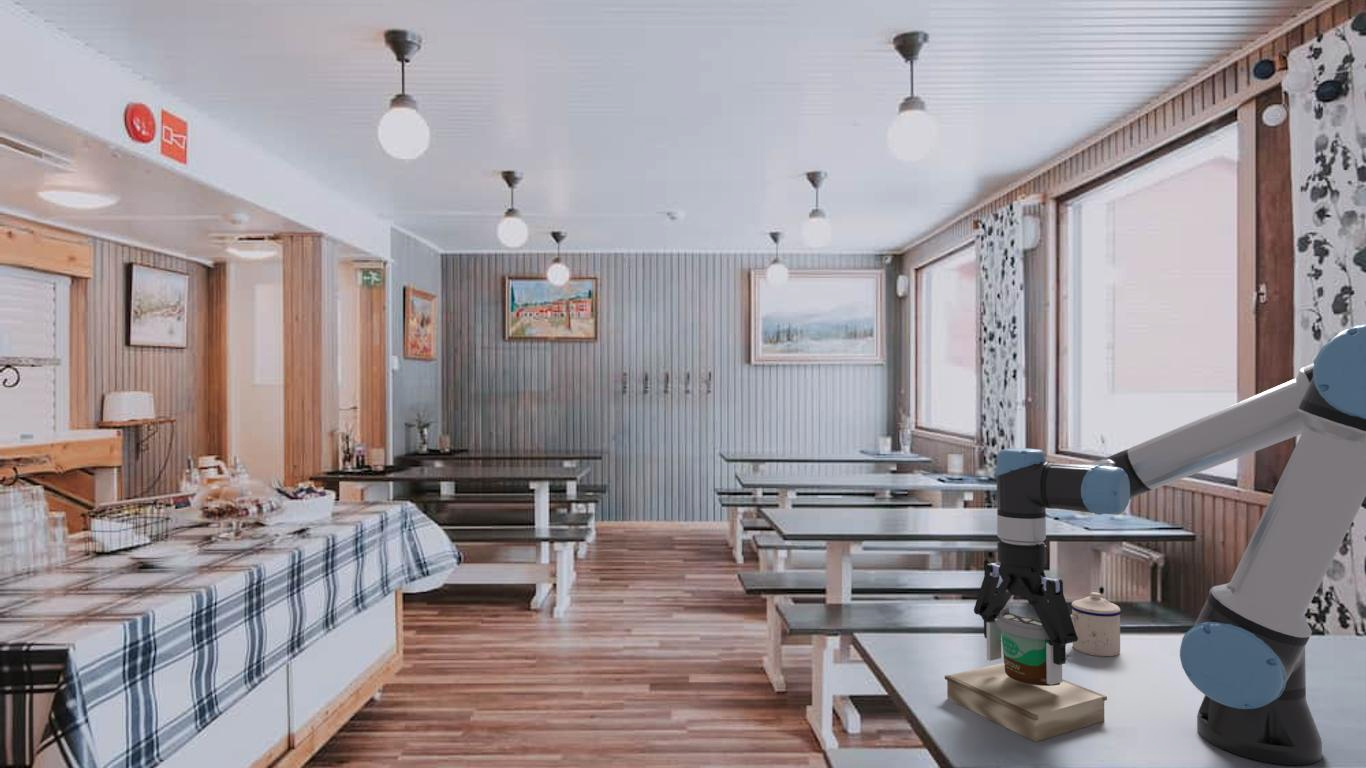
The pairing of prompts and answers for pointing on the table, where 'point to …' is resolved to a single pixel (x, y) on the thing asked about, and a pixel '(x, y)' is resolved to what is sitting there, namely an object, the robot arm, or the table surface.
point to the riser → (1026, 702)
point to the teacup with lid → (1096, 626)
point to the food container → (1024, 648)
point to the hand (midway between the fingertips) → (1023, 670)
